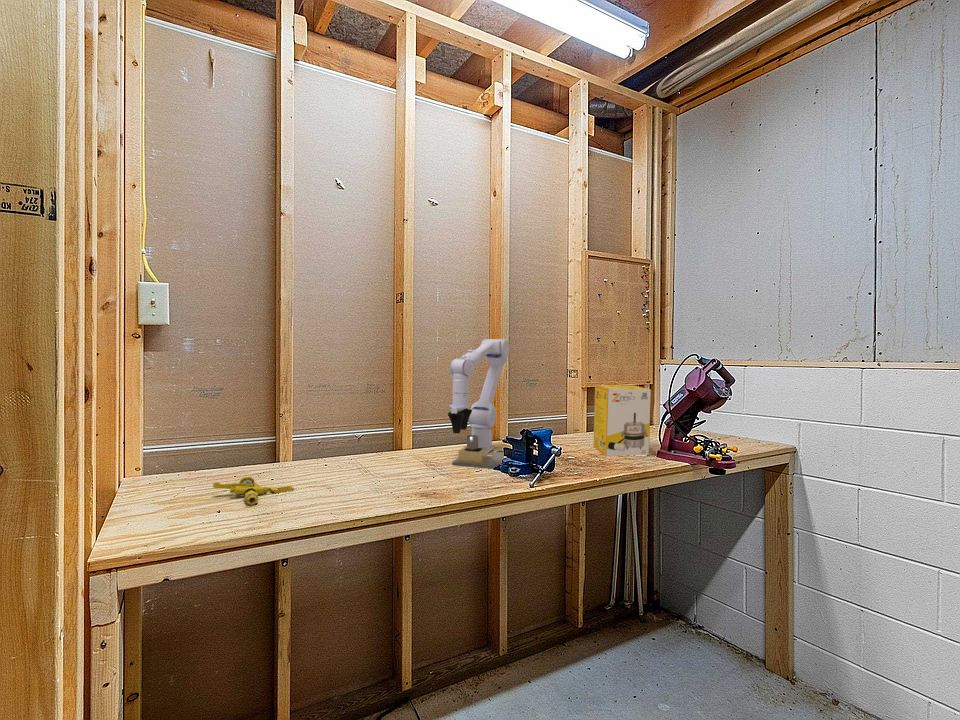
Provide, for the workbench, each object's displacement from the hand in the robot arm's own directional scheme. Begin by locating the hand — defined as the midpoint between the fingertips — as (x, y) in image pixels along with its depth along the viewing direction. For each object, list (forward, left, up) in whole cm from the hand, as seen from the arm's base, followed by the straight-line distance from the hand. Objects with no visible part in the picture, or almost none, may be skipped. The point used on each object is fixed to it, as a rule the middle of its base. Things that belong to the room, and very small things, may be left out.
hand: (459, 431), depth 177 cm
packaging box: (-32, +55, -10) cm, 64 cm away
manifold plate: (+5, +10, -9) cm, 15 cm away
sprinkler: (+60, -36, -10) cm, 71 cm away
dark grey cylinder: (+5, +6, -8) cm, 12 cm away
